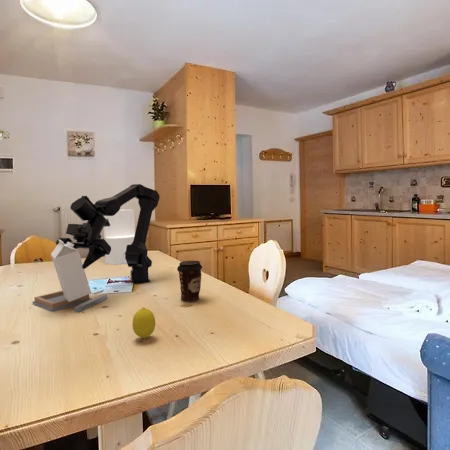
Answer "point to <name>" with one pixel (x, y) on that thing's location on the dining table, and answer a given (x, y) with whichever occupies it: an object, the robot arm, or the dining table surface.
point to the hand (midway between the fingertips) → (71, 267)
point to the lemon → (143, 323)
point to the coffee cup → (190, 280)
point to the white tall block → (119, 235)
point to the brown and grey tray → (57, 301)
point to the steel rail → (90, 303)
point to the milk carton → (70, 271)
